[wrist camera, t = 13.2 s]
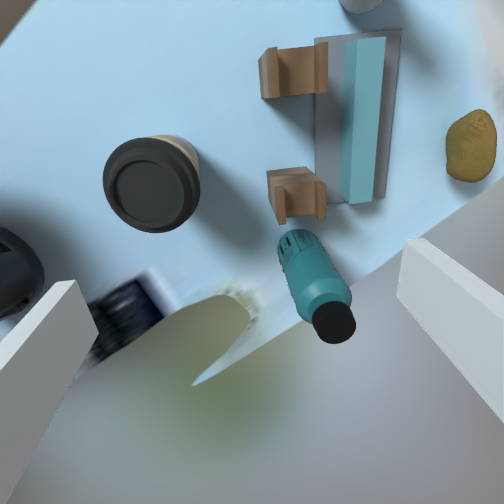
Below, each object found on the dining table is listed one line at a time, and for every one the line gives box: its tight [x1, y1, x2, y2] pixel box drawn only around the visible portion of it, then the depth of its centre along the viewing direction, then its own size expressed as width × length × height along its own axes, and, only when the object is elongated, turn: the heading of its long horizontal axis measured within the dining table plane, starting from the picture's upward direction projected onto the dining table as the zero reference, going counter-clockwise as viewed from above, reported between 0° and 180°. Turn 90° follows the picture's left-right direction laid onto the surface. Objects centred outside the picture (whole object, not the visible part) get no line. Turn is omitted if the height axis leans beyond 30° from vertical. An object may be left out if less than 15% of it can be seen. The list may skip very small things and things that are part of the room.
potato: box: [446, 109, 497, 183], centre depth 39 cm, size 7×8×8 cm
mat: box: [314, 29, 402, 204], centre depth 40 cm, size 10×20×1 cm, turn 6°
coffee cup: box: [103, 135, 200, 233], centre depth 34 cm, size 9×9×15 cm
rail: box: [339, 36, 386, 204], centre depth 38 cm, size 3×18×4 cm, turn 6°
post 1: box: [258, 42, 328, 98], centre depth 33 cm, size 5×4×10 cm
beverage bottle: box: [277, 229, 356, 344], centre depth 38 cm, size 6×7×20 cm
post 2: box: [267, 167, 326, 225], centre depth 38 cm, size 5×4×10 cm
